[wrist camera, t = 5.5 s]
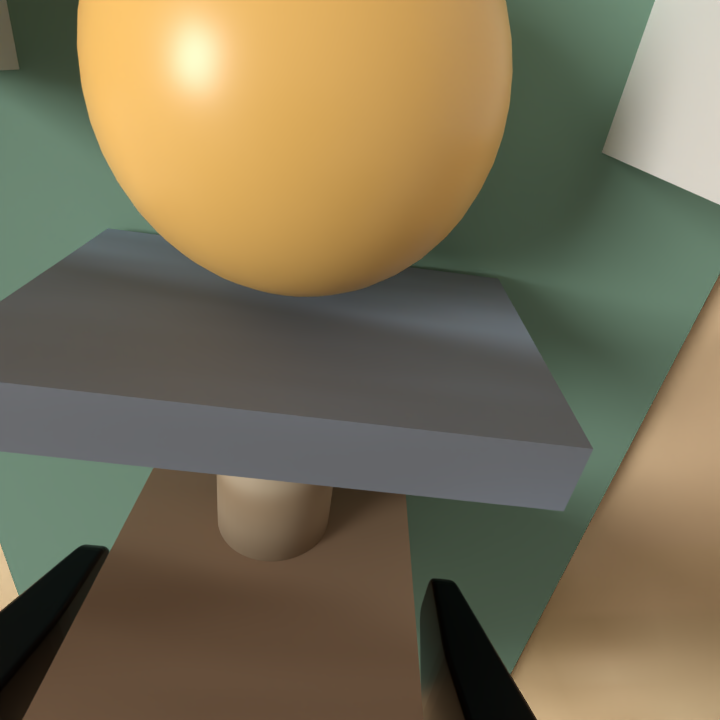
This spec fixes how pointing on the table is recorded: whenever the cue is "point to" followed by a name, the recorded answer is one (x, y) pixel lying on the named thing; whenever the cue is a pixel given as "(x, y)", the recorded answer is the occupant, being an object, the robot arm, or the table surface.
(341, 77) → the ball
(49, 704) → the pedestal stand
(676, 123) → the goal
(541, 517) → the pitch
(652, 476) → the table surface
